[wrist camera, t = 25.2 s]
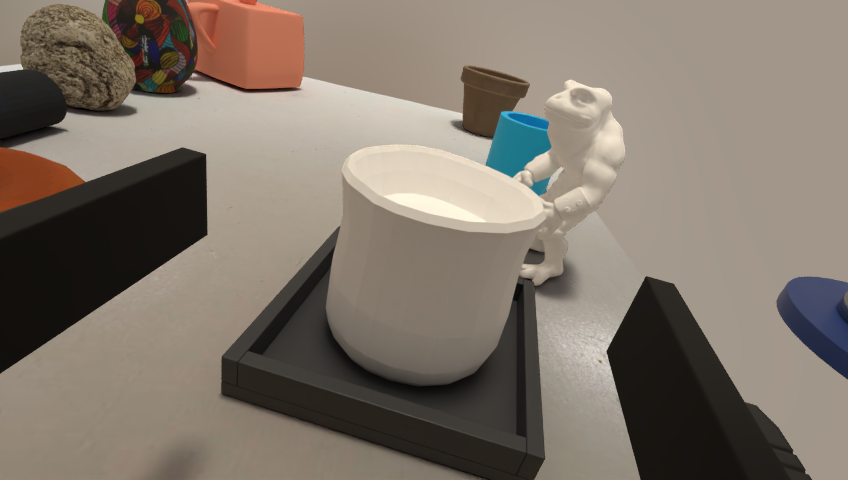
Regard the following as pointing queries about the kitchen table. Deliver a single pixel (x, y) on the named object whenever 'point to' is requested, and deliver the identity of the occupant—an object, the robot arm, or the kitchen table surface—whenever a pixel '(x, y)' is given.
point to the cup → (426, 261)
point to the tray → (394, 384)
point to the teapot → (248, 43)
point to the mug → (519, 145)
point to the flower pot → (488, 98)
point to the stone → (78, 56)
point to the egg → (155, 40)
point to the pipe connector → (29, 102)
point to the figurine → (572, 169)
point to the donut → (31, 178)
